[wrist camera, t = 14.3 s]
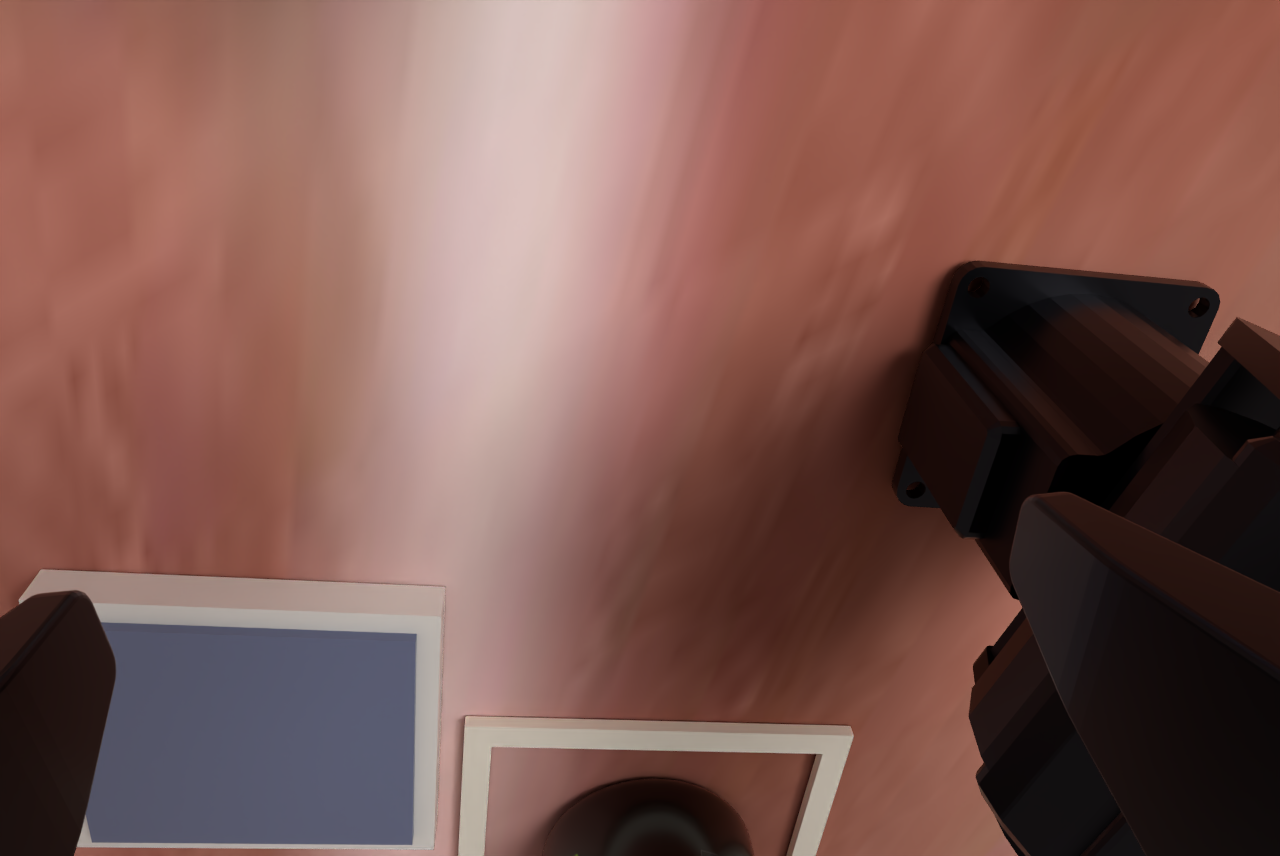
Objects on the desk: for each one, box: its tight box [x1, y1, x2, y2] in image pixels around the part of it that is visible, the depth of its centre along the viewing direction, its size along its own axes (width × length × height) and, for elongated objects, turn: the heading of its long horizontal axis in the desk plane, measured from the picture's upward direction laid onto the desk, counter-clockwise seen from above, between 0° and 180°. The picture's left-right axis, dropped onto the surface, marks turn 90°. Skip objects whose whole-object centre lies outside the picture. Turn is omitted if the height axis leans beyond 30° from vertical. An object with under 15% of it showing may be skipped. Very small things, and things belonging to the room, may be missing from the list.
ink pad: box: [19, 569, 445, 850], centre depth 27 cm, size 10×9×2 cm
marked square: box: [458, 716, 854, 856], centre depth 31 cm, size 12×12×1 cm
